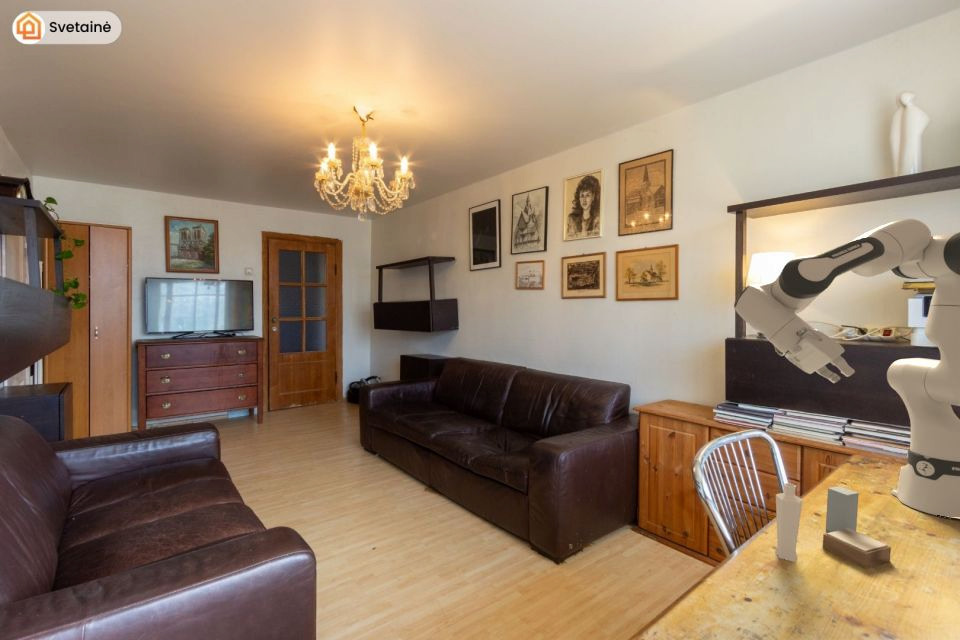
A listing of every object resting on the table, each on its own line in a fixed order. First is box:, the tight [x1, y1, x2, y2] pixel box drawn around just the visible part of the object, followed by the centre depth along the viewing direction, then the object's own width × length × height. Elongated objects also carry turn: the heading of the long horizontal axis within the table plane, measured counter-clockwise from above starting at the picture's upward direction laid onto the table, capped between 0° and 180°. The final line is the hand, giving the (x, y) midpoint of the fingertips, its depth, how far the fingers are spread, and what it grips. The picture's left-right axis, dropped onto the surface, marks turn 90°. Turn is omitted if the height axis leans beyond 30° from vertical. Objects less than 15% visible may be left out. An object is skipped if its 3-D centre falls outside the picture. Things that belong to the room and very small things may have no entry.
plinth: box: [822, 528, 892, 569], centre depth 95 cm, size 8×8×3 cm
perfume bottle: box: [774, 482, 803, 563], centre depth 93 cm, size 5×4×15 cm
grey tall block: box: [825, 485, 860, 533], centre depth 104 cm, size 4×4×10 cm
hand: (844, 377), depth 107 cm, fingers open, 8 cm apart
